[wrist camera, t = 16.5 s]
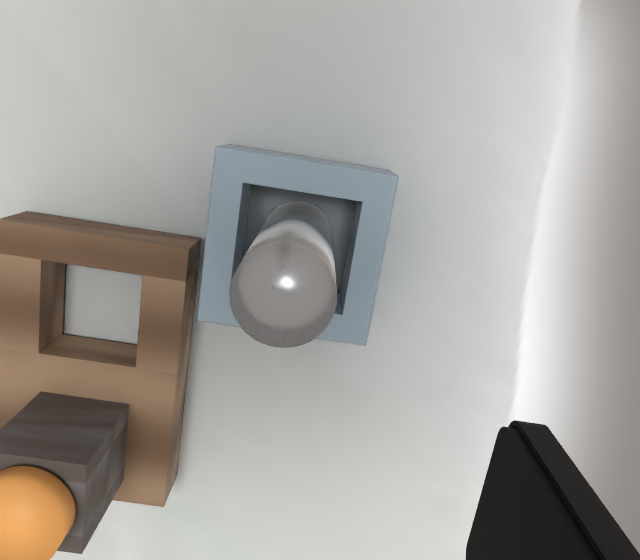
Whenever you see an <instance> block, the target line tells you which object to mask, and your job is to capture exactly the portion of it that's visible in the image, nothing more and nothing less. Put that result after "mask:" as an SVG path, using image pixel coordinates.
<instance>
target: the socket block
mask: <svg viewBox="0 0 640 560" xmlns="http://www.w3.org/2000/svg"><path fill="white" fill-rule="evenodd" d="M200 243H201V238H196V237H190V236H183V235H177V234H170V233H164V232H157V231H151V230H145V229H138V228H132V227H125V226H119V225H112V224H106V223H99V222H93V221H86V220H80V219H74V218H67V217H61V216H54V215H48V214H41V213H35V212H28V211H26V212H22V213H19V214H15V215H12V216H8V217H5V218H1V219H0V471H1V470H4V469H6V468H10V467H14V466H30V467H35V468H39V469H42V470H44V471H47V472H49V473H51V474H52V475H54V476H55V477H57V478H58V479H59V480H62V481H64V485H65V486H66V487H67V488H68V490H69V491H70V493H71V495H72V497H73V500H74V503H75V510H76V514H75V520H74V523H73V525H72V527H71V529H70V531H69V532H68V534H67V535H66V537H65V538H64V540H63V542H62V543H61V545H60V546H59V548H58V550H57V551H64V552H71V553H79V554H82V552H83V551H84V549H85V547H86V545H87V544H88V542H89V540H90V538H91V537H92V535H93V533H94V531H95V529H96V528H97V526H98V524H99V522H100V521H101V519H102V517H103V515H104V514H105V512H106V510H107V508H108V506H109V505H110V503H111V501H112V500H117V501H124V502H131V503H138V504H146V505H153V506H160V507H164V505H165V503H166V500H167V498H168V496H169V493H170V491H171V488H172V486H173V484H174V481H175V479H176V475H177V465H178V456H179V446H180V436H181V426H182V417H183V407H184V397H185V388H186V378H187V368H188V359H189V349H190V339H191V330H192V320H193V310H194V301H195V291H196V281H197V272H198V262H199V252H200ZM65 263H66V264H72V265H79V266H86V267H92V268H99V269H105V270H112V271H118V272H125V273H132V274H138V275H143V279H142V292H141V305H140V318H139V331H138V344H137V345H133V344H126V343H119V342H112V341H106V340H99V339H92V338H85V337H78V336H72V335H65V334H63V310H64V284H65Z"/></svg>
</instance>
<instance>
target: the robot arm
mask: <svg viewBox="0 0 640 560" xmlns="http://www.w3.org/2000/svg"><path fill="white" fill-rule="evenodd" d="M466 560H640V554H639V553H638V552H637V550H636V549H635V547H633V545H632V543H631V542H630V541H629V539H628V538H627V536H626V535H625V534H624V532H623V531H622V529H621V528H620V527H619V525H618V524H617V522H616V521H615V520H614V518H613V517H612V516H611V514H610V513H609V511H608V510H607V509H606V507H605V506H604V504H603V503H602V502H601V500H600V499H599V497H598V496H597V495H596V493H595V492H594V491H593V489H592V488H591V487H590V485H589V484H588V482H587V481H586V479H585V478H584V477H583V475H582V474H581V473H580V471H579V470H578V468H577V467H576V466H575V464H574V463H573V461H572V460H571V459H570V457H569V456H568V454H567V453H566V452H565V450H564V449H563V448H562V446H561V445H560V443H559V442H558V441H557V439H556V438H555V436H554V435H553V434H552V433H551V431H550V430H549V428H548V427H547V426H546V425H542V424H535V423H527V422H521V421H512V422H511V423H510V425H509V427H502V428H501V429H500V430H499V432H498V435H497V439H496V442H495V446H494V449H493V453H492V457H491V460H490V464H489V467H488V471H487V474H486V478H485V482H484V485H483V489H482V492H481V496H480V500H479V503H478V507H477V510H476V514H475V518H474V521H473V525H472V528H471V532H470V536H469V539H468V543H467V547H466Z"/></svg>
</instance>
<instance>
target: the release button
mask: <svg viewBox="0 0 640 560" xmlns="http://www.w3.org/2000/svg"><path fill="white" fill-rule="evenodd" d="M75 514H76V510H75V503H74V500H73V497H72V495H71V493H70V491H69V490H68V488H67V487H66V486H65V485H64V481H62V480H59V479H58V478H57V477H55V476H54V475H52V474H51V473H49V472H47V471H44V470H42V469H39V468H35V467H30V466H14V467H10V468H6V469H4V470H1V471H0V560H49V559H50V558H51V557H52V556H53V555H54V554H55V553H56V551H57V550H58V548H59V546H60V545H61V543H62V542H63V540H64V538H65V537H66V535H67V534H68V532H69V531H70V529H71V527H72V525H73V523H74V520H75Z"/></svg>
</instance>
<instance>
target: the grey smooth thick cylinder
mask: <svg viewBox="0 0 640 560" xmlns="http://www.w3.org/2000/svg"><path fill="white" fill-rule="evenodd" d="M229 297H230V305H231V309H232V312H233V315H234V317H235V319H236V321H237V322H238V324H239V325H240V326H241V328H242V329H243V330H244V331H245V332H246V333H247V334H248V335H250V336H251V337H252V338H254V339H255V340H257V341H259V342H261V343H263V344H266V345H269V346H274V347H295V346H299V345H302V344H305V343H307V342H309V341H311V340H313V339H315V338H316V337H317V336H319V335H320V334H321V333H322V332H323V331H324V330H325V329H326V327H327V326H328V325H329V323H330V322H331V320H332V318H333V315H334V313H335V309H336V305H337V286H336V274H335V263H334V251H333V239H332V229H331V225H330V222H329V220H328V218H327V217H326V215H325V214H324V213H323V212H322V211H321V210H320V209H319V208H318V207H316V206H315V205H313V204H311V203H308V202H304V201H290V202H286V203H283V204H281V205H279V206H278V207H276V208H275V209H274V210H273V211H272V212H271V213H270V214H269V216H268V217H267V219H266V221H265V222H264V224H263V226H262V227H261V229H260V231H259V232H258V234H257V236H256V237H255V239H254V241H253V243H252V244H251V246H250V248H249V249H248V251H247V253H246V254H245V256H244V258H243V259H242V261H241V263H240V265H239V266H238V268H237V270H236V272H235V274H234V276H233V278H232V281H231V285H230V295H229Z"/></svg>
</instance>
